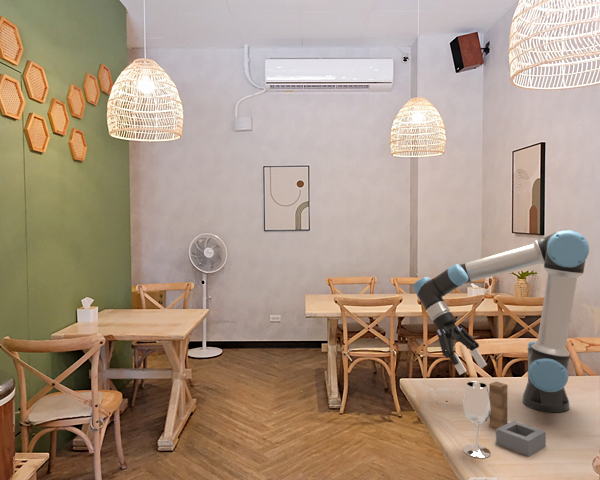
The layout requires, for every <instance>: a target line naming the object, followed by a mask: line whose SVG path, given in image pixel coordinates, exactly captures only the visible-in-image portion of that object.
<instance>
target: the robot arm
mask: <svg viewBox="0 0 600 480" xmlns="http://www.w3.org/2000/svg"><path fill="white" fill-rule="evenodd" d="M589 254H590V245H589V242H588V240H587V238H586V237H585V236H584V235H583V234H582V233H580V232H578V231H576V230H571V229H560V230H557V231H555V232H553V233H551V234H549V235H547V236H545V237H541V238H538V239H535V241H534V242H532V243H531V244H528V245H524V246H521V247H516V248H513V249H510V250H507V251H502V252H500V253H495V254H493V255H490V256H485V257H482V258H479V259H475V260H471V261H468V262H465V263H460V264H458V263H456V264H453V265H451V266H450V267H448V268H447V269H445V270H444V271H442V272H441V273H440V274H438V275H437V276H435V277H433V278H431V277H430V276H424V277H422V278H419V279H418V280H416V281H415V282H414V283H413V286H412V287H413V291H414V293H416V296H417V298H418V299H419V301H420V303H421V305H422V306H423V308H424V309H425V310H426V312H427V314H428V316H429V317H430V320H432V321H433V322H432V323H433V324H434V326H435V329H437V330H436V331H435V333H436V336H437V337H438V338H437V339H438V342H439V345H440V350H441V353H442V356H444V357H445V358H446V359H448V358H449V359H450V361H451V363H452V365H453V366H454V368H455V369H456V371H457V373H458V374H459V376H460V375H462V374H465V373H466V372H467V369H466V367H465V366H464V364H463V362H462V361H461V359H460V358H459V355H458V354H457V353H455V348H454V347H455V346H454V341H457V342H460V344H462V345H463V346H465V347H466V348H467V349H468V350H470V354H471V356H472V357H473V359H474V361H475V363H476V364H477V366H478V368H479V369H482V368H484V367H486V366H487V365H488V363H487V362H486V360H485V359H484V357H483V356H482V354H481V353H480V350H478V348H480V344H479V342H477V341H476V340H475V339H474V337H472V335H470V334H469V333H468V331H466V330H465V328H464V327H463V325H462V324H458V326H457V325H456V321H457V319H456V317H455V316H454V315H453V313H452V312H451V311H450V310H451V309H450V308H449V306H448V305H447V303H446V301H445V300H444V299H443V297H445V296H446V295H448V294H449V293H451V292H453V291H455V290H456V289H458V288H459V287H462V286H463V285H465V284H469V283H471V282H474V281H475V282H476V281H479V280H482V279H486V278H491V277H494V276H497V275H501V274H505V273H509V272H513V271H517V270H521V269H524V268H528V267H533V266H536V265H540V264H542V265H543V269H544V271H546V272H547V278H546V283H545V290H544V297H543V304H542V309H541V317H540V324H539V328H538V335H537V341H536V340H534V341H529V342H528V346H527V356H528V357H527V383H526V386H525V389H524V391H523V394H522V403H523V404H524V405H525V406H526V407H528V408H531V409H534V410H536V411H541V412H546V413H547V412H548V413H564V412H567V411H569V409H570V400H569V397H568V395H567V391H566V388H565V387H566V385H567V383H568V381H569V372H568V369H569V365H570V364H569V363H570V357H571V353H570V352H569V350H568V349H567V341H568V337H569V330H570V323H571V317H572V310H573V306H574V305H573V304H574V301H575V300H574V299H575V294H576V288H577V287H576V286H577V282H578V278H579V277H580V276H582V275H583V274H584V271H585V265H586V260H587V258H588V256H589Z"/></svg>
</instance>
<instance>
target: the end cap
mask: <svg viewBox="0 0 600 480" xmlns="http://www.w3.org/2000/svg"><path fill="white" fill-rule="evenodd" d="M546 433H547V432H546V431H545V430H542V429H540V428H537V427H534V426H531V425H528V424H525V423H521V422H520V421H516V420H512V421H510V422H507V424H505V425H503V426H501V427H499V428H495V444H496V445H498V446H500V447H503V448H506V449H509V450H510V451H513V452H516V453H519V454H521V455H524V456H526V457H530V456H532V455H534V454H536V453H537V452H539V451H540V450H542V449H544V448H545V447H546V443H547V442H546V441H547V440H546V439H547V438H546V436H547V434H546Z"/></svg>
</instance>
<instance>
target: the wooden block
mask: <svg viewBox="0 0 600 480" xmlns="http://www.w3.org/2000/svg"><path fill="white" fill-rule="evenodd" d="M488 386H489V387H488V393H489V397H490V403H491V415H490V417H489V418H488V420H489V421H488V422H489V423H488V424H489V427H491V428H495V429H497V428H499V427H501V426H503V425H505V424H507V423H508V384H507V383H503V382H501V381H493V382H491V383H489V385H488Z"/></svg>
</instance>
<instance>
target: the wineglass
mask: <svg viewBox="0 0 600 480" xmlns="http://www.w3.org/2000/svg"><path fill="white" fill-rule="evenodd" d="M462 411H463V414H464V416H465V418H466V419H467V420H469V422H471V423H473V424H474V429H475V432H474V433H475V435H474V437H475V443H474V444H467V445H465V446H463V448H462V451H463V453H465V454H466V455H467V456H470V457H472V458H477V459H485V458H488V457H490V456H491V454H492V452H491V451H490V449H488V448H486V447H484V446H482V445H479V426H480V425H481V424H483V423H486V421H488V420H489V417H490V415H491V403H490V397H489V388H488V385H487V384H486V383H484V382H481V381H475V380H474V381H468V382H466V386H465V390H464V394H463V400H462Z"/></svg>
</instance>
